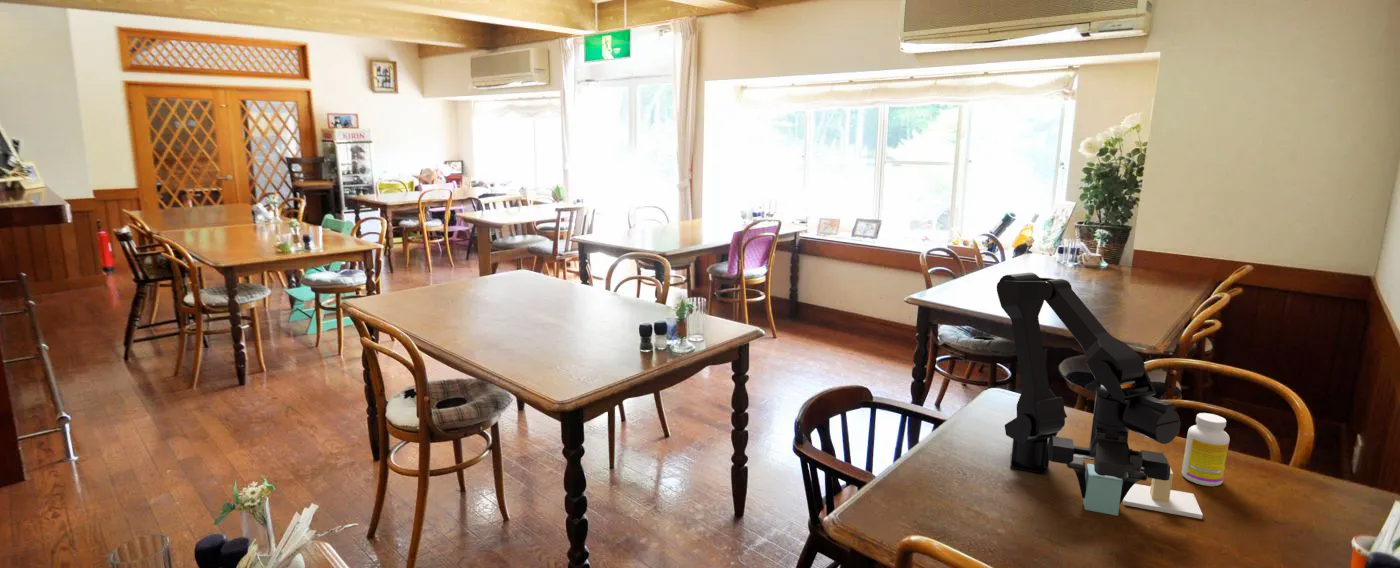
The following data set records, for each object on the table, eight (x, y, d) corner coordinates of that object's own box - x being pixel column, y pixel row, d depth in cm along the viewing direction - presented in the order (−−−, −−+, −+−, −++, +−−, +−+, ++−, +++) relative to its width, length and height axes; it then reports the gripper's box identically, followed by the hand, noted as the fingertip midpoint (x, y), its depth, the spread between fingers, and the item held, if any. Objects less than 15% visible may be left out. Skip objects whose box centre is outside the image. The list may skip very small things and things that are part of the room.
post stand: (1123, 504, 131) (1128, 472, 130) (1118, 484, 138) (1122, 454, 137) (1202, 519, 126) (1207, 485, 125) (1192, 497, 133) (1197, 466, 132)
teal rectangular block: (1084, 509, 129) (1089, 476, 128) (1082, 495, 134) (1086, 463, 133) (1117, 515, 127) (1122, 481, 126) (1114, 501, 132) (1119, 468, 131)
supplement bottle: (1228, 489, 136) (1240, 426, 133) (1190, 485, 138) (1200, 423, 135) (1212, 472, 143) (1222, 412, 140) (1175, 469, 144) (1184, 409, 141)
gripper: (1054, 429, 124) (1044, 511, 127) (1182, 448, 116) (1168, 535, 120) (1052, 405, 133) (1043, 482, 137) (1170, 422, 126) (1157, 503, 130)
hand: (1100, 500), depth 131 cm, fingers closed on teal rectangular block, 5 cm apart
